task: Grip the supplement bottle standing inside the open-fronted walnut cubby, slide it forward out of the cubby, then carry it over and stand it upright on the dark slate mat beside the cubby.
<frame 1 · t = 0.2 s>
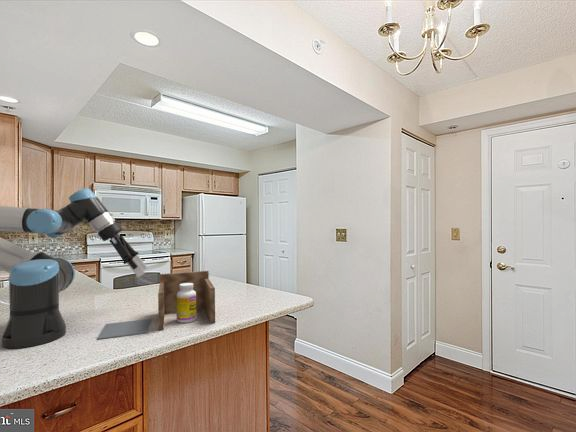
hand: (143, 272, 117), 16 cm above the countertop, tool tilted 35°, fingers open, 13 cm apart
slate mat: (126, 328, 101), on the countertop
cubby: (186, 320, 109), on the countertop
supplement bottle: (186, 320, 109), on the countertop
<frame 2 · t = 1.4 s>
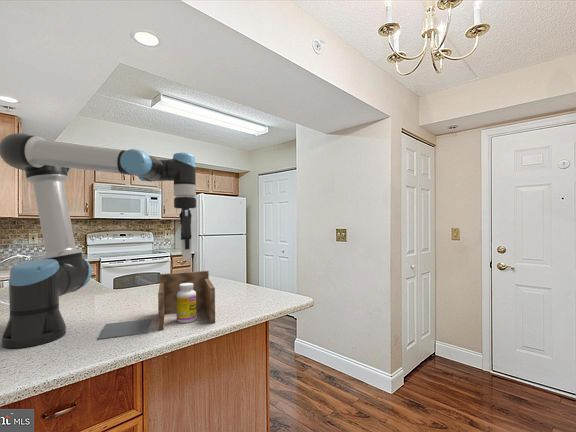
hand: (186, 256, 109), 22 cm above the countertop, tool pointing down, fingers open, 13 cm apart
nothing on the countertop moved.
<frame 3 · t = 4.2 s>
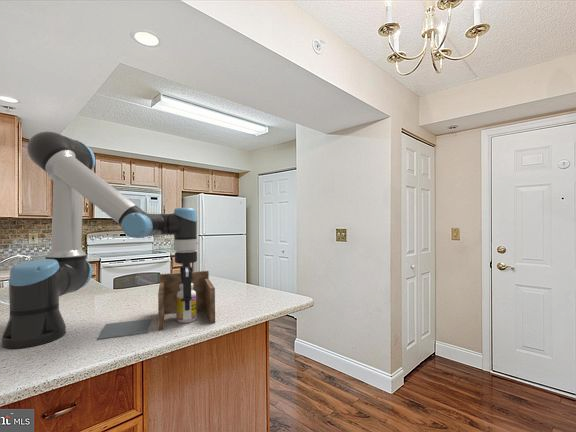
hand: (186, 316, 109), 2 cm above the countertop, tool pointing down, fingers closed on supplement bottle, 7 cm apart
supplement bottle: (186, 320, 109), on the countertop, touching gripper
when the fingers open (3 cm above the countertop, at t = 12.9 s): supplement bottle drops 1 cm, resting on slate mat.
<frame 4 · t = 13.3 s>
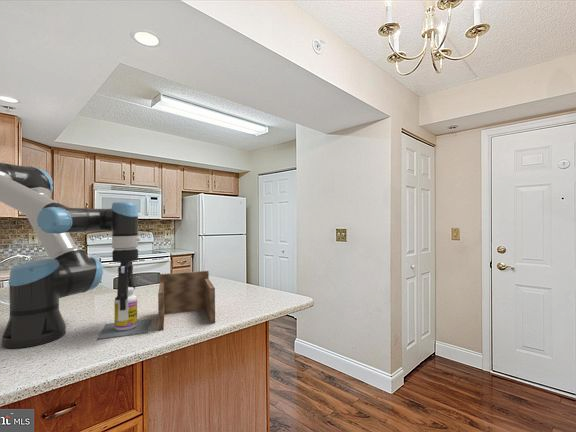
hand: (126, 314, 101), 5 cm above the countertop, tool pointing down, fingers open, 12 cm apart
supplement bottle: (126, 328, 101), resting on slate mat
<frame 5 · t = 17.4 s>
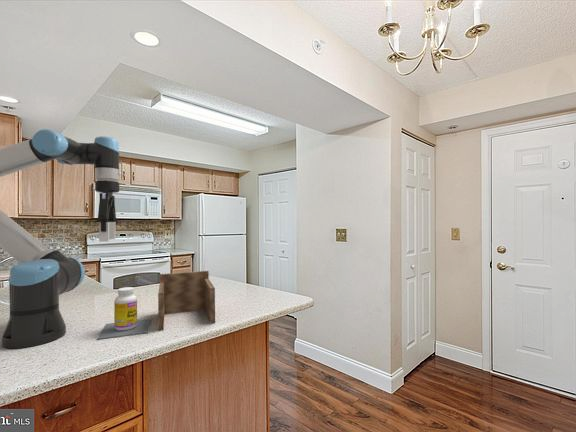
hand: (107, 240, 110), 29 cm above the countertop, tool pointing down, fingers open, 13 cm apart
nothing on the countertop moved.
at the end: supplement bottle inside the target area (0.1 cm from its centre), resting on slate mat; supplement bottle tilted 0°; the gripper is holding nothing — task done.
